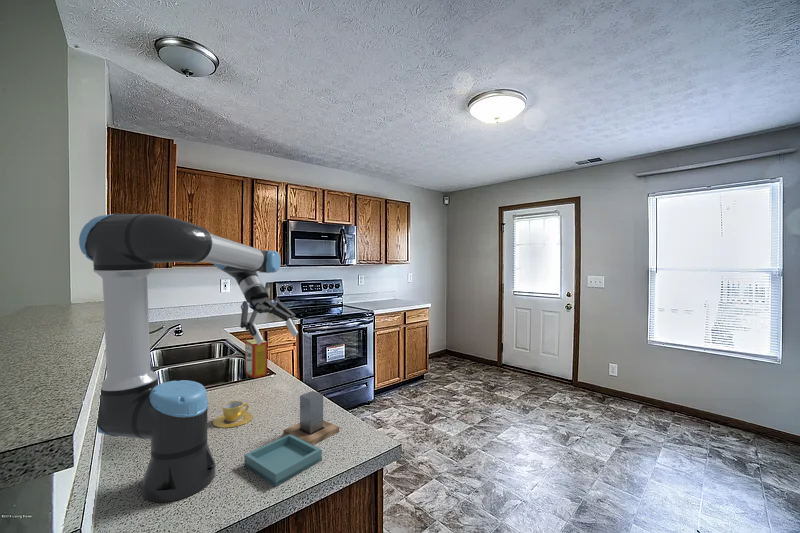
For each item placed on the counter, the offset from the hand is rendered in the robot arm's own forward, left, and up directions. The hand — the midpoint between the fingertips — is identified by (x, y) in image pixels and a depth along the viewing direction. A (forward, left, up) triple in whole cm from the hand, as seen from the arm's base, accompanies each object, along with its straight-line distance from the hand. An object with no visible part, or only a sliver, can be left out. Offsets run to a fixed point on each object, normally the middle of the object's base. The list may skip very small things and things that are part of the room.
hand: (279, 338), depth 121 cm
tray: (-15, -24, -27) cm, 40 cm away
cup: (-10, +11, -27) cm, 31 cm away
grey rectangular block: (0, -17, -27) cm, 32 cm away
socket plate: (0, -17, -27) cm, 32 cm away
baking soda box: (+20, +47, -27) cm, 57 cm away
